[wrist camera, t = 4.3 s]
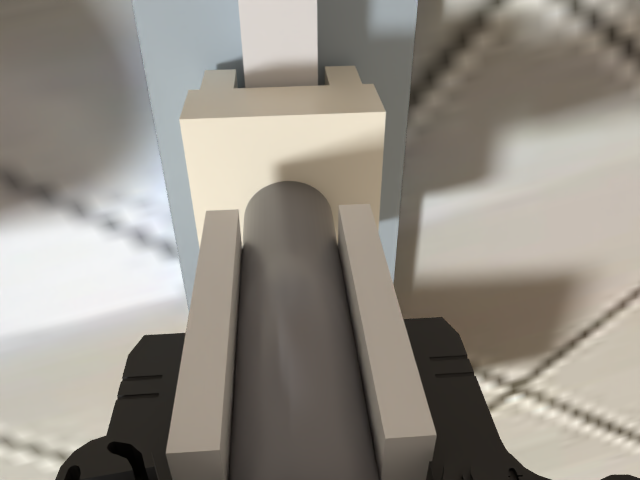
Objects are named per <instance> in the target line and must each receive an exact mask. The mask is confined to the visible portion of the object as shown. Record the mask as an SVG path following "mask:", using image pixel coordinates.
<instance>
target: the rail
mask: <svg viewBox="0 0 640 480" xmlns="http://www.w3.org/2000/svg"><path fill="white" fill-rule="evenodd" d="M132 5H133V11H134V16H135V22H136V27H137V33H138V38H139V43H140V49H141V54H142V60H143V65H144V71H145V76H146V81H147V87H148V92H149V98H150V103H151V109H152V114H153V119H154V125H155V130H156V136H157V141H158V147H159V152H160V157H161V163H162V168H163V174H164V179H165V185H166V190H167V195H168V201H169V206H170V212H171V217H172V223H173V228H174V233H175V239H176V244H177V250H178V255H179V261H180V266H181V271H182V277H183V282H184V288H185V293H186V299H187V304H188V309H189V310H190V304H191V298H192V292H193V286H194V280H195V274H196V268H197V262H198V256H199V250H200V249H199V242H198V236H197V230H196V223H195V217H194V210H193V204H192V198H191V191H190V185H189V179H188V172H187V166H186V159H185V153H184V147H183V140H182V134H181V128H180V121H179V118H180V115H181V112H182V109H183V106H184V103H185V99H186V96H187V93H188V90H200V87H201V83H202V80H203V76H204V72H205V70H229V69H236V74H237V85H238V88H261V87H291V86H321V85H325V66H355V67H356V69H357V72H358V74H359V77H360V79H361V82H362V84H374V86H375V89H376V91H377V93H378V95H379V97H380V100H381V102H382V104H383V106H384V109H385V111H386V119H385V135H384V151H383V167H382V183H381V198H380V214H379V230H378V233H379V237H380V240H381V244H382V247H383V251H384V254H385V258H386V261H387V265H388V268H389V272H390V275H391V278H392V282H393V283H394V272H395V260H396V249H397V237H398V225H399V214H400V202H401V191H402V179H403V168H404V156H405V144H406V133H407V121H408V110H409V98H410V87H411V75H412V64H413V52H414V40H415V29H416V17H417V6H418V0H132Z"/></svg>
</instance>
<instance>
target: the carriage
mask: <svg viewBox="0 0 640 480" xmlns="http://www.w3.org/2000/svg"><path fill="white" fill-rule="evenodd" d="M385 119H386V111H385V109H384V106H383V104H382V102H381V100H380V97H379V95H378V93H377V91H376V89H375V86H374V84H362V82H361V79H360V77H359V74H358V72H357V69H356V67H355V66H325V85H321V86H291V87H261V88H238V85H237V74H236V69H229V70H205V72H204V76H203V80H202V83H201V87H200V90H188V93H187V96H186V99H185V103H184V106H183V109H182V112H181V115H180V118H179V121H180V128H181V134H182V140H183V147H184V153H185V159H186V166H187V172H188V179H189V185H190V191H191V198H192V204H193V210H194V217H195V223H196V230H197V236H198V242H199V249H200V244H201V238H202V232H203V226H204V220H205V214H206V211H211V210H234V209H238V211H239V221H240V231H241V241H242V262H241V279H240V296H239V313H238V330H237V347H236V363H235V380H234V397H233V414H232V431H231V448H230V465H229V480H380V478H379V473H378V467H377V462H376V456H375V450H374V445H373V439H372V434H371V428H370V422H369V417H368V411H367V406H366V400H365V394H364V389H363V383H362V378H361V372H360V367H359V361H358V355H357V350H356V344H355V339H354V333H353V327H352V322H351V316H350V311H349V305H348V300H347V294H346V288H345V283H344V277H343V272H342V266H341V260H340V255H339V249H338V209H339V205H351V204H370V206H371V209H372V213H373V216H374V220H375V223H376V227H377V230H379V214H380V198H381V183H382V167H383V151H384V135H385Z"/></svg>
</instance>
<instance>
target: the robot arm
mask: <svg viewBox="0 0 640 480" xmlns="http://www.w3.org/2000/svg"><path fill="white" fill-rule="evenodd" d="M338 249H339V255H340V260H341V266H342V272H343V277H344V283H345V288H346V294H347V300H348V305H349V311H350V316H351V322H352V327H353V333H354V339H355V344H356V350H357V355H358V361H359V367H360V372H361V378H362V383H363V389H364V394H365V400H366V406H367V411H368V417H369V422H370V428H371V434H372V439H373V445H374V450H375V456H376V462H377V467H378V473H379V478H380V480H551V479H548V478H545V477H542V476H539V475H537V474H535V473H533V472H531V471H530V470H528V469H526V468H525V467H524V466H523V465H522V464H521V463H519V462H518V461H517V460H516V459H515V458H514V457H513V456H512V455H511V454H510V453H509V452H508V451H507V450H506V448H505V447H504V445H503V443H502V441H501V439H500V437H499V434H498V432H497V429H496V427H495V424H494V422H493V419H492V417H491V414H490V412H489V409H488V406H487V404H486V401H485V399H484V396H483V394H482V391H481V389H480V386H479V384H478V381H477V379H476V376H474V371H473V368H472V366H471V363H470V361H469V359H467V353H466V351H465V348H464V346H463V343H462V341H461V338H460V336H459V334H458V333H457V332H456V331H455V330H454V329H453V328H452V327H451V326H450V325H449V324H448V323H447V322H446V321H445V320H444V319H443V318H442V317H436V318H418V319H403V317H402V313H401V310H400V306H399V303H398V299H397V296H396V292H395V289H394V285H393V282H392V278H391V275H390V272H389V268H388V265H387V261H386V258H385V254H384V251H383V247H382V244H381V240H380V237H379V233H378V230H377V227H376V223H375V220H374V216H373V213H372V209H371V206H370V204H351V205H339V209H338ZM241 262H242V241H241V231H240V221H239V211H238V209H234V210H211V211H206V214H205V220H204V226H203V232H202V238H201V244H200V250H199V256H198V262H197V268H196V274H195V280H194V286H193V292H192V298H191V304H190V310H189V316H188V322H187V328H186V333H177V334H159V335H144V336H143V337H142V339H141V340H140V341H139V342H138V344H137V345H136V346H135V347H134V349H133V350H132V351H131V352H130V354H129V355H128V358H127V362H126V366H125V369H124V373H123V377H122V378H123V380H122V382H121V384H120V388H119V391H118V395H117V396H118V399H117V400H116V402H115V406H114V410H113V413H112V417H111V421H110V424H109V428H108V432H107V435H106V436H104V437H101V438H98V439H95V440H91V441H90V442H88V443H87V444H85V445H83V446H82V447H80V448H79V449H77V450H76V451H74V452H73V453H72V454H71V456H70V457H69V458H68V459H67V460H66V461H65V462H64V464H63V465H62V466H61V467H60V470H59V472H58V474H57V477H56V479H55V480H229V465H230V448H231V431H232V414H233V397H234V380H235V363H236V347H237V330H238V313H239V296H240V279H241ZM601 480H640V478H637V477H634V476H631V475H610V476H608V477H605V478H603V479H601Z"/></svg>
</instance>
